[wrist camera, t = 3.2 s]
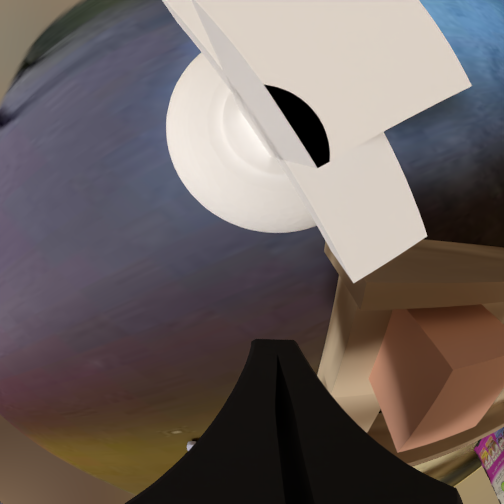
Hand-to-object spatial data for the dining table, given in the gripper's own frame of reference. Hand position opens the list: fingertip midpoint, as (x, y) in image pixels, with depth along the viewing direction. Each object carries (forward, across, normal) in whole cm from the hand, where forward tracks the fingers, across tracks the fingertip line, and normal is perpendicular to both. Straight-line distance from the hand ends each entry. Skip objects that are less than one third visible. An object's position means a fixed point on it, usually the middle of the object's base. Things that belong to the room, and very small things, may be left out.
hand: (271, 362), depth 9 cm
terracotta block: (+1, -6, 0) cm, 6 cm away
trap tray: (+3, -11, +3) cm, 12 cm away
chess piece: (+4, +1, -7) cm, 8 cm away
